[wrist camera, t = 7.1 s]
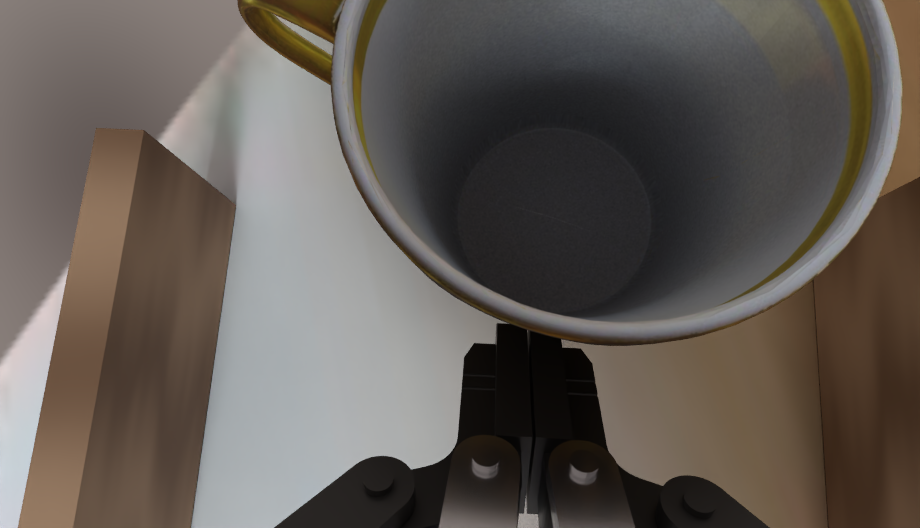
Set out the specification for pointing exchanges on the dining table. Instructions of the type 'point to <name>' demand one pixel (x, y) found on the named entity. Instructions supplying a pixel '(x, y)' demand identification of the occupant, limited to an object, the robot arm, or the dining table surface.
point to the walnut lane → (197, 322)
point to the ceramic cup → (609, 147)
